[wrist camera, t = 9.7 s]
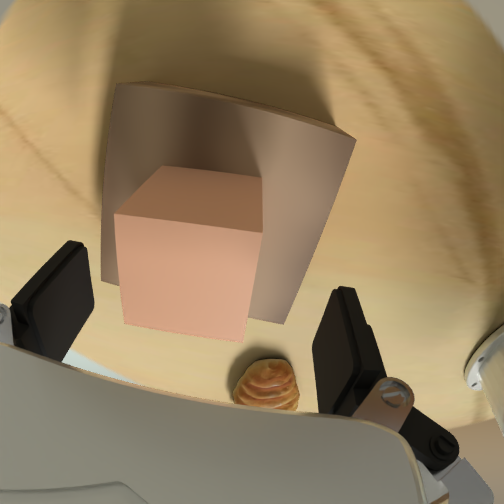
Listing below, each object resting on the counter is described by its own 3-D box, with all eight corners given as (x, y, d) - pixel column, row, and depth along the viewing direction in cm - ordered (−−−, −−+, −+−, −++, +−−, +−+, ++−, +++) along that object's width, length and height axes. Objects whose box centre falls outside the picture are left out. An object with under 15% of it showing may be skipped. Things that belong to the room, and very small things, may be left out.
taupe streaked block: (334, 125, 19) (356, 139, 14) (280, 279, 25) (283, 324, 20) (148, 81, 17) (116, 83, 13) (126, 243, 23) (101, 280, 19)
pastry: (233, 351, 28) (230, 384, 25) (306, 352, 28) (311, 385, 25) (233, 405, 33) (231, 433, 30) (293, 406, 33) (296, 434, 30)
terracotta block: (262, 177, 15) (263, 233, 10) (248, 263, 18) (242, 342, 13) (162, 165, 15) (114, 213, 10) (159, 251, 18) (124, 323, 13)
